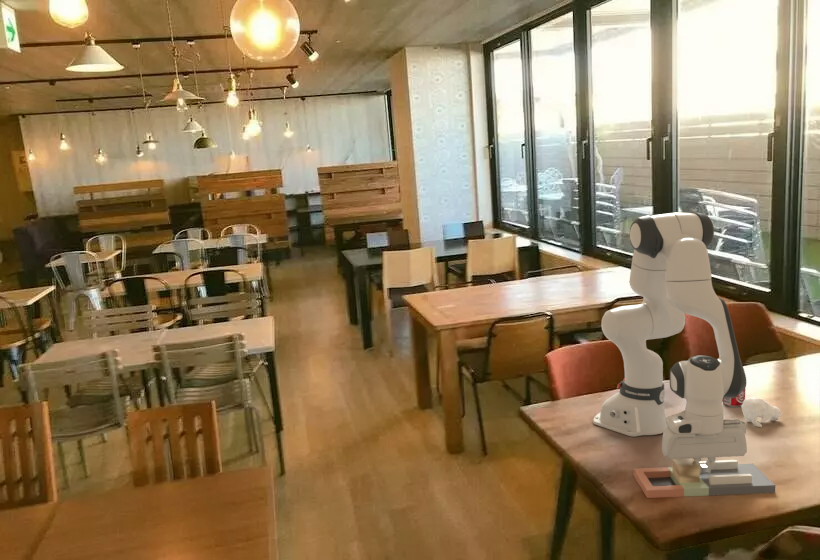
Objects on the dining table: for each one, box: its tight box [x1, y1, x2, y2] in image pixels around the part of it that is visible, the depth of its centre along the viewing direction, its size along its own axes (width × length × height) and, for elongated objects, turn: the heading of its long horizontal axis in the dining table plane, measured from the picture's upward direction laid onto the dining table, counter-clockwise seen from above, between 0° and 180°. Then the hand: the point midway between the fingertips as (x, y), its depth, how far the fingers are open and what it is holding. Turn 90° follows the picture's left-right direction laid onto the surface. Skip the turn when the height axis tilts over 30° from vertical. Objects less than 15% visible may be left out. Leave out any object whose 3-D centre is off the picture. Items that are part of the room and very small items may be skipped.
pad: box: [667, 466, 710, 497], centre depth 173 cm, size 6×12×2 cm, turn 178°
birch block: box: [671, 458, 700, 483], centre depth 173 cm, size 5×5×4 cm
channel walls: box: [699, 459, 752, 485], centre depth 173 cm, size 10×9×2 cm
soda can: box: [722, 388, 746, 408], centre depth 223 cm, size 7×7×12 cm
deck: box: [632, 463, 776, 499], centre depth 173 cm, size 31×12×2 cm, turn 88°
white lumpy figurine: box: [740, 396, 782, 428], centre depth 207 cm, size 6×8×12 cm
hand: (703, 472), depth 173 cm, fingers closed
